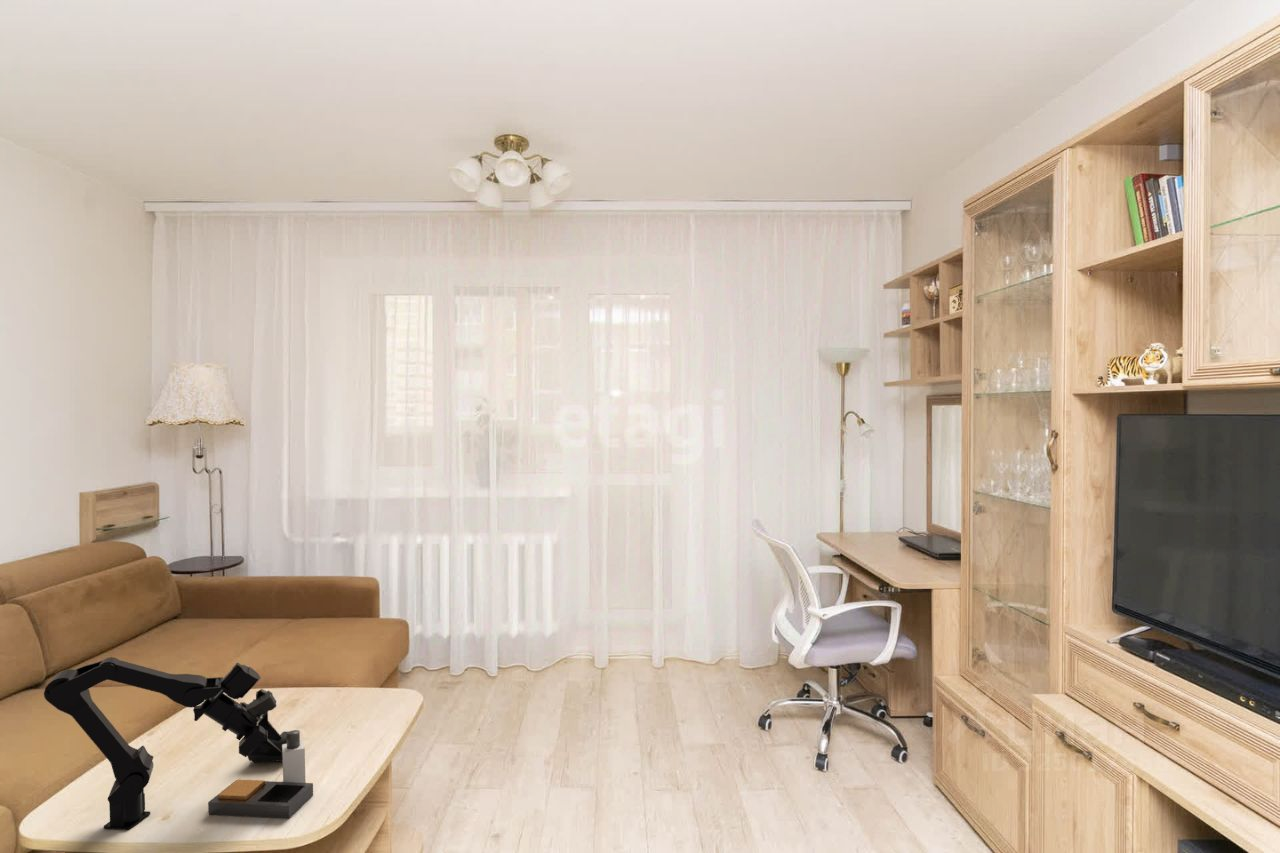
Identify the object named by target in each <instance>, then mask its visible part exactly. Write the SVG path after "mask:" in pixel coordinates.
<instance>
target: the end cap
mask: <svg viewBox="0 0 1280 853" xmlns="http://www.w3.org/2000/svg"><path fill="white" fill-rule="evenodd" d="M288 732H289V731H282V732H281V733H280V736H281V737H282V738H281V740H280V741H275V740H270V739H269V740H270V741H271V742H272V743H273V744H274V745H275V746H276V747H277V748H278V749H279V750H280V751H281V752H282V745H283V744H287V733H288ZM247 759H248V761H249V762H252V763H270V762H283V754H281V755H280V756H279V757H275V756H261V755H251V756H247Z"/></svg>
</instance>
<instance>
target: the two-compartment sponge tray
mask: <svg viewBox="0 0 1280 853" xmlns="http://www.w3.org/2000/svg"><path fill="white" fill-rule="evenodd" d="M313 796H314V783H313V782H306V783H297V782H283V781H270V780H269V781H267V780H264V779H242V778H241V779H240V778H239V779H236V780H234V781H233V782H232V783H231V784H229V785H228V786H227V787H225V788H224V789H223V790H222V791H221V792H220V793H218V794H216V795H215V796H214V797H212V798H211V799H210V800H209V801H207V802H208V803H207V805H208V806H207V808H208V816H221V817H222V816H223V817H225V816H227V817H245V818H246V817H247V818H248V817H249V818H264V819H265V818H268V819H269V818H270V819H286V820H287V819H289V820H290V818H292V816H294V814H296V813H297V812H298V811H299V810H300V809H301V808H302V807H303V806H304V805H305V804H306V803H307V802H308V801H310V799H311V798H312V797H313Z"/></svg>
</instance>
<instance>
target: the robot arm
mask: <svg viewBox="0 0 1280 853" xmlns="http://www.w3.org/2000/svg"><path fill="white" fill-rule="evenodd" d="M107 680H108V681H111V682H116V683H119V684H123V685H127V686H132V687H135V688H139V689H143V690H146V691H150V692H154V693H159V694H160V695H161V694H162V695H164V696H166V698H168V699H169V700H171V701H173V702H175V703H176V704H179V705H181V706H184V707H185V708H193V710H192V711H193V713H194V718H193V719H194V722H196V721H199V720H200V718H201V717H202V716H203V715H205V716H206V717H208V718H209V719H211V720H212V721H214V722H215V723H217V724H218V725H220V726H222V727H221V730H222V731H224V732H226V731H227V730H228V731H230V732H231V733H233V734H234V735H236V737H235V739H237V741H239V742H238V754H239V755H241V756H243V757H244V758H248V756H251V755H261V756H275V757H279V756H280V755H281V754H282V752H281V751H280V750H279V749H278V748H277V747H276V746H275V745H274V744H273V743H272V742H271V741H270V740H275V741H280V740H281V738H282V737H281V736H280V735H281V733H279V731H277V730H276V728H275V727H274V726H273V725H272V723H271V722H270V721H269V712H271V711H273V710H275V708H276V707H277V700H276V698H275V697H274V695H273V692H271V691H270V690H265V689H263V688H260V689H259V690H257V691H256V692H255V698H253V700H252V701H250V702H249V703H246V702H244V701H241V702H240V703H239V702H238V701H237V700H239V699H242V698H244V697H245V696H246V694H247V693H249V692H250V690H252V688H253V687H254V686H255V685H257V683H258V682H259V681H260V680H261V675H260V674H259V673H258V672H257V671H256V670H255V669H254V668H252V667H251V666H247V665H245V664H241V663H239V662H236V663H235V664H234V665H233V666H232V668H231V669H230V671H228V672H227V674H226V675H225V676H223V677H221V676H220V677H205V676H204V675H199V674H190V673H181V674H180V673H179V674H178V673H177V674H175V673H168V672H164V671H161V670H157V669H154V668H150V667H146V666H144V665H138V664H135V663H133V662H132V663H131V662H128V661H124V660H121V659H118V658H117V657H113V656H111V657H106V658H103V659H102V660H99V661H97V662H94V663H89V664H85V665H83V666H81V667H78V668H75V669H71V668H70V669H64V670H62V671H59V672H57V673H56V674H55V675H54V676H53V678H52V679H51V680H50V682H49V683H48V684H47V685H46V686H45V688H44V692H43V698H44V699H45V700H46V702H48V703H49V704H50V705H51V706H53V707H54V708H56V710H58V711H60V712H63V713H64V714H67V715H69V716H71V717H72V719H73V720H74V721H75V722H76V723H77V724H78V726H79V727H80V728H81V729H82V730H83V731H84V733H85V734H86V735H87V737H88V738H89V739H90V740H91V741H92V743H94V745H95V746H96V747H97V748H98V749H99V751H100V752H101V753H102V754H103V755H104V757H105V758H106V759H107V761H108V762H109V763H110V765H111V768H112V769H111V770H112V772H113V776H114V778H115V780H114V782H113V785H112V787H111V790H110V792H109V795H108V797H107V802H108V804H109V821H108V822H107V823H106V824H104V825H103V829H106V830H107V829H108V830H109V829H111V830H112V829H113V830H130V829H132V828H134V827H135V826H136V825H138V824H139V823H140V822H142V821H143V820H145V819H146V818H147V817H149V815H151V811H149V810H146V798H145V797H146V794H145V792H144V789H145V788H146V787H147V785H148V783H149V782H150V780H151V776H152V772H153V770H154V762H153V760H154V756H153V755H151V754H150V753H148V751H147V748H146V747H145V746H144V745H141V746H140V747H139V748H138V749H137V748H135V747H132V746H130V745H129V744H128V742H127V741H126V740H125V739H124V737H123V736H122V734H120V733H119V731H118V730H117V729H116V727H114V725H113V724H112V722H111V721H110V720H109V719H108V718H107V716H106V715H105V714H104V713H103V712H102V710H101V709H100V708H99V707H98V705H97V704H96V703H95V702H94V701H93V699H92V696H91V692H90V689H91V688H92V687H95V686H97V685H98V684H100V683H102V682H105V681H107ZM269 739H270V740H269Z"/></svg>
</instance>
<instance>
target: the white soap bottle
mask: <svg viewBox="0 0 1280 853" xmlns="http://www.w3.org/2000/svg"><path fill="white" fill-rule="evenodd" d="M287 732H288V733H287V744H283V745H282V754H283V761H282V782H297V783H307V781H306V750H305V740H304V739H303V740H301V734H300V733H301V732H300V730H299V729H294V730H289V731H287Z"/></svg>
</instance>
